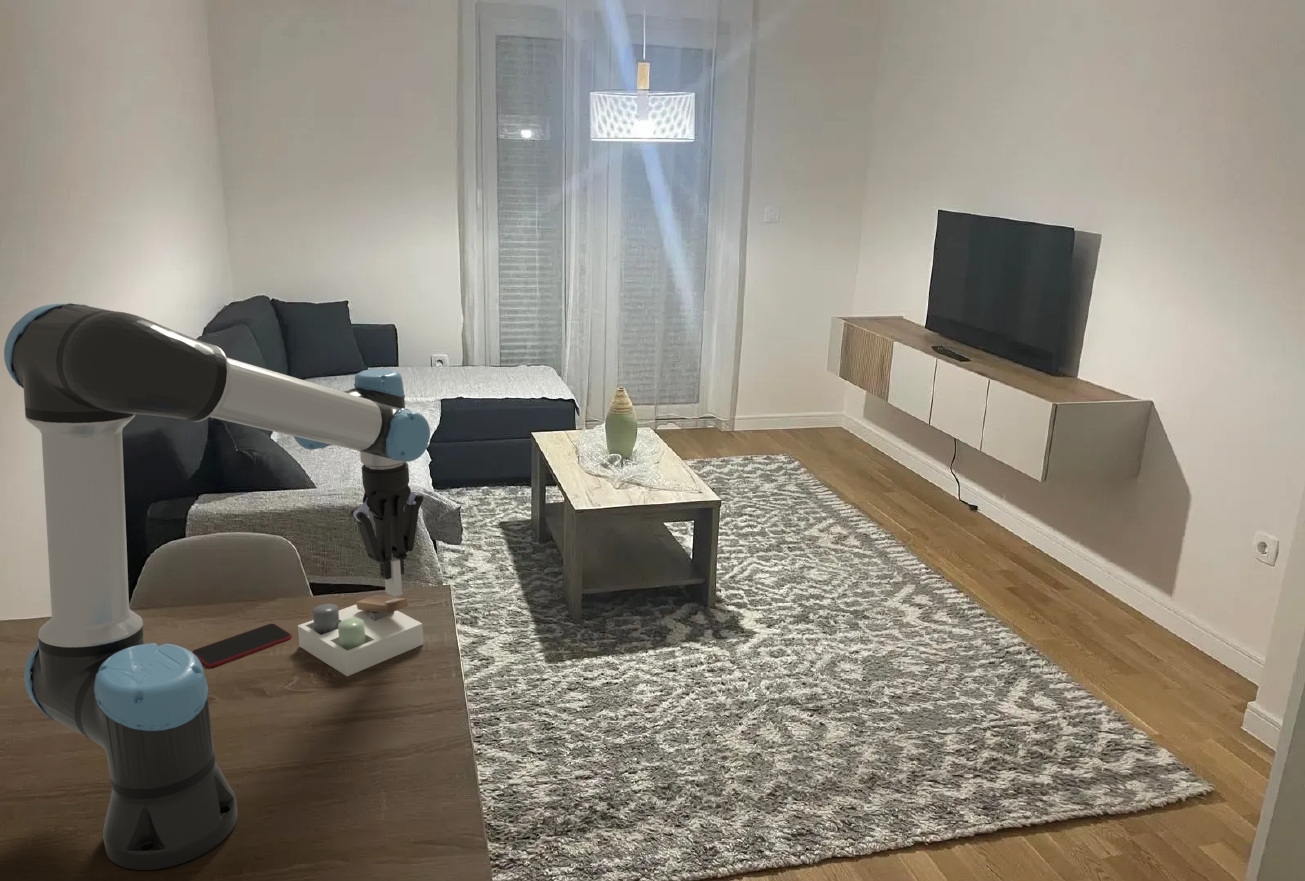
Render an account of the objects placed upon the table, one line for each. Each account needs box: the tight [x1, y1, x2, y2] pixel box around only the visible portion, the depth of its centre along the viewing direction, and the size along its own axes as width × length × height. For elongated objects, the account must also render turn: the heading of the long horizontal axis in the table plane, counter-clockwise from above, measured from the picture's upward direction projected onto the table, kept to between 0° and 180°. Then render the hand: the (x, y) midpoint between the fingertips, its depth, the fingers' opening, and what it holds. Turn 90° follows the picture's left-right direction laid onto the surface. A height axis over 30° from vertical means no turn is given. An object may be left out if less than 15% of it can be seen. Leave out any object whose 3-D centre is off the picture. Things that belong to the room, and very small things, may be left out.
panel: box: [297, 604, 424, 677], centre depth 170 cm, size 15×15×5 cm
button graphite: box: [312, 603, 340, 635], centre depth 169 cm, size 4×4×4 cm
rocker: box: [355, 594, 409, 614], centre depth 172 cm, size 4×10×2 cm, turn 48°
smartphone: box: [191, 623, 293, 668], centre depth 170 cm, size 7×1×15 cm
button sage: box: [338, 618, 366, 651], centre depth 164 cm, size 4×4×4 cm
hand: (394, 593), depth 169 cm, fingers closed
